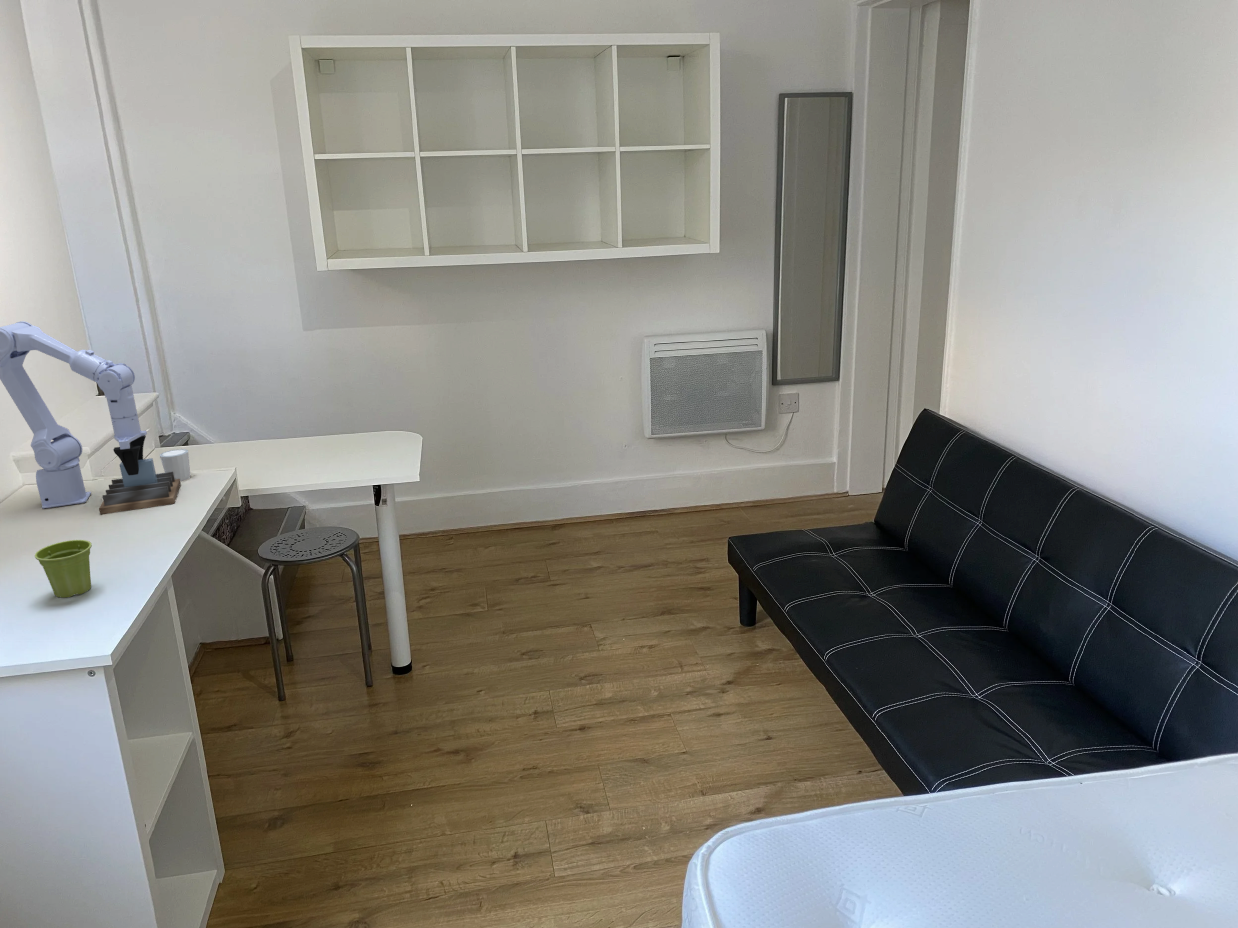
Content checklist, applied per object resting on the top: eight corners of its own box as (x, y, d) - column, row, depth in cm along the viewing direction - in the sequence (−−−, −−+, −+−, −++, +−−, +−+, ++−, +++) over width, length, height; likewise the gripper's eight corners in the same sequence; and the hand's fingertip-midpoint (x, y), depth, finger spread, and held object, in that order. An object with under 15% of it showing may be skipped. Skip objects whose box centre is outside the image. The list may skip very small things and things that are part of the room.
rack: (100, 514, 220) (96, 498, 219) (111, 493, 234) (108, 478, 233) (174, 503, 225) (171, 488, 223) (180, 484, 239) (177, 469, 238)
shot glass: (198, 476, 245) (193, 450, 243) (175, 483, 240) (169, 457, 238) (183, 472, 249) (178, 447, 247) (159, 480, 243) (153, 454, 241)
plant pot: (111, 580, 182) (102, 539, 179) (80, 602, 173) (70, 559, 171) (67, 580, 183) (56, 539, 180) (33, 602, 174) (22, 559, 172)
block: (126, 496, 227) (119, 465, 225) (127, 493, 229) (121, 462, 227) (157, 491, 229) (151, 460, 227) (159, 489, 231) (152, 458, 229)
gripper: (138, 420, 218) (149, 476, 222) (146, 407, 231) (157, 459, 235) (104, 424, 216) (117, 480, 220) (115, 410, 229) (126, 463, 233)
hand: (135, 470), depth 227 cm, fingers open, 7 cm apart
